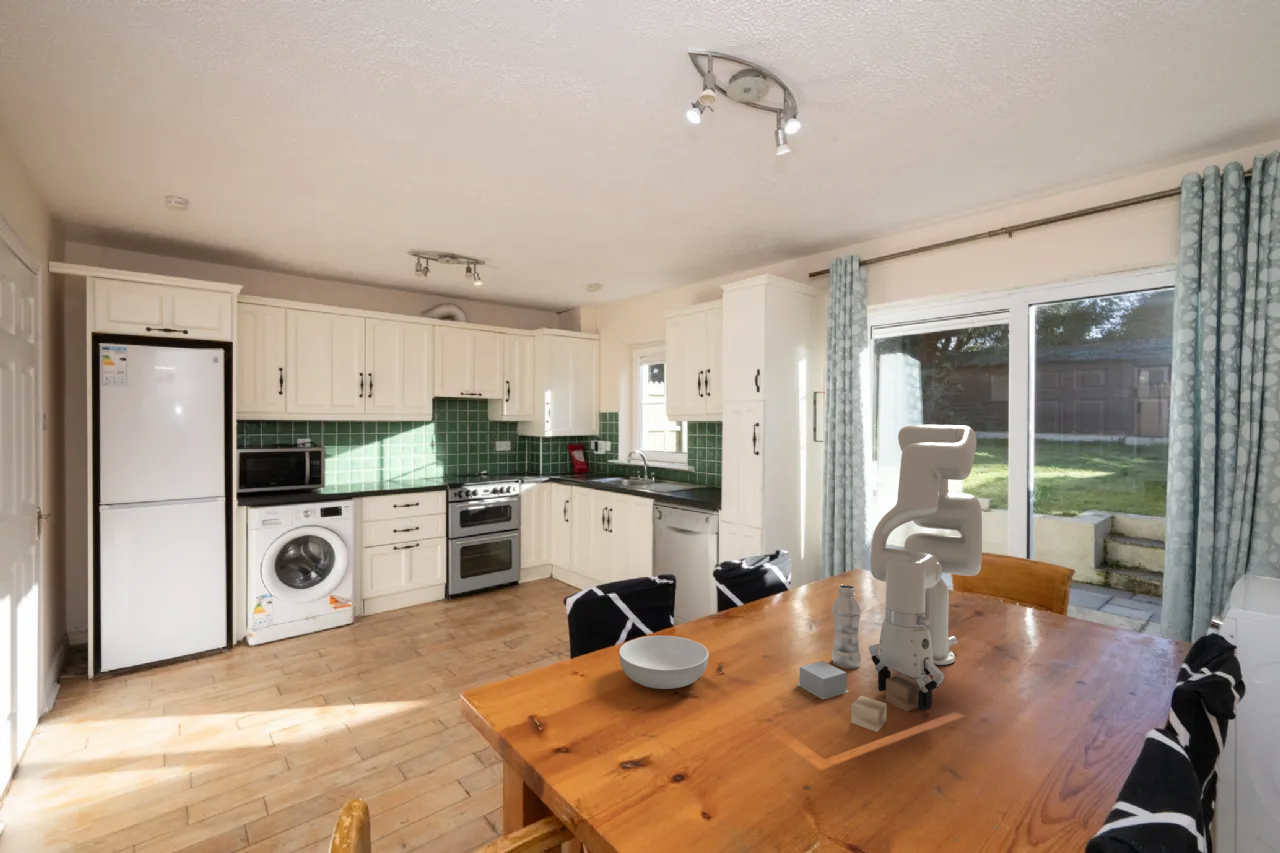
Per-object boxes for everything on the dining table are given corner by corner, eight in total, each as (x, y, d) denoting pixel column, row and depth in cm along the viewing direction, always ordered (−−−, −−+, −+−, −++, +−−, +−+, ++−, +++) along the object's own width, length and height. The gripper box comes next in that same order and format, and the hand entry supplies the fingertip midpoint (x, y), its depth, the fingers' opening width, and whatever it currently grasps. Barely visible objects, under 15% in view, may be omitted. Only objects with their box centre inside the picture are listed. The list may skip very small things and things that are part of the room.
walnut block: (901, 701, 125) (901, 674, 125) (922, 712, 120) (922, 683, 120) (885, 707, 122) (886, 678, 122) (906, 717, 118) (906, 688, 118)
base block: (822, 678, 133) (822, 660, 133) (846, 690, 127) (846, 672, 127) (799, 684, 130) (799, 666, 129) (823, 697, 123) (823, 679, 123)
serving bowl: (719, 671, 139) (720, 642, 139) (690, 710, 120) (690, 677, 120) (641, 655, 148) (641, 629, 148) (602, 689, 129) (602, 659, 129)
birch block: (860, 720, 117) (861, 695, 117) (886, 729, 114) (886, 703, 114) (851, 729, 113) (851, 704, 113) (877, 739, 110) (877, 713, 110)
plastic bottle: (863, 675, 137) (864, 591, 137) (833, 672, 139) (834, 589, 139) (858, 664, 144) (859, 584, 144) (830, 661, 145) (830, 582, 145)
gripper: (955, 627, 115) (954, 713, 115) (882, 603, 130) (881, 679, 130) (931, 633, 112) (930, 722, 112) (859, 608, 127) (858, 686, 127)
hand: (903, 699), depth 121 cm, fingers open, 9 cm apart
